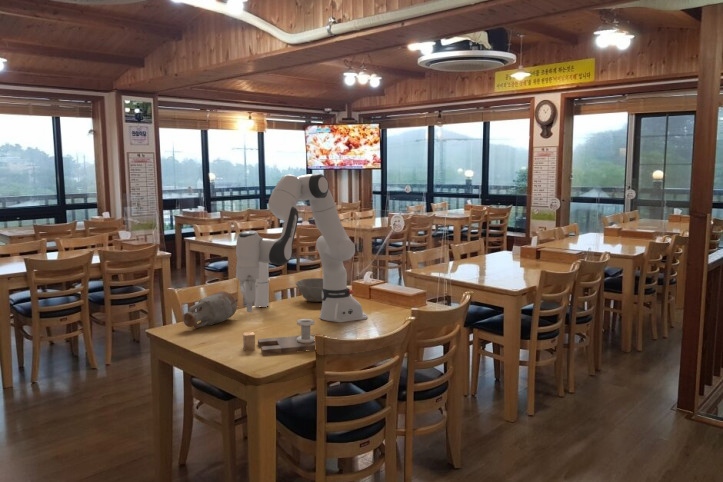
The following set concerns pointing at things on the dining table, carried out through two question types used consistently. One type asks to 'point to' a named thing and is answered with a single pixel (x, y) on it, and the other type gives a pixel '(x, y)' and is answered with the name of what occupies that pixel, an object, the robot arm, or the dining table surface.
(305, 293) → the ceramic bowl
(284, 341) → the notched board
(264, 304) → the cylindrical container
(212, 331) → the dining table surface
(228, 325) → the dining table surface
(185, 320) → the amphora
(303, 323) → the bobbin
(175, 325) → the dining table surface
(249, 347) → the tan wooden block
